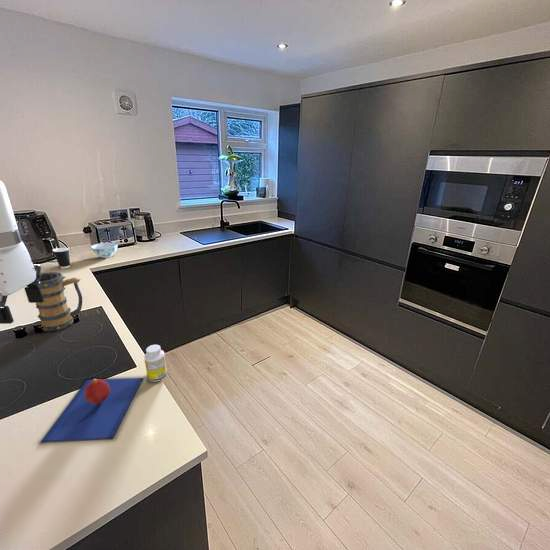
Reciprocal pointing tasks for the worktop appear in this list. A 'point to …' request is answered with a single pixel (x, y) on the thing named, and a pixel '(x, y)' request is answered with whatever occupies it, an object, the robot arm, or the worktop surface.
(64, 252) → the dixie cup
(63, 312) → the mug
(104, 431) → the cloth
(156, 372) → the supplement bottle
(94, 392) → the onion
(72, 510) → the worktop surface
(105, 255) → the chinaware
